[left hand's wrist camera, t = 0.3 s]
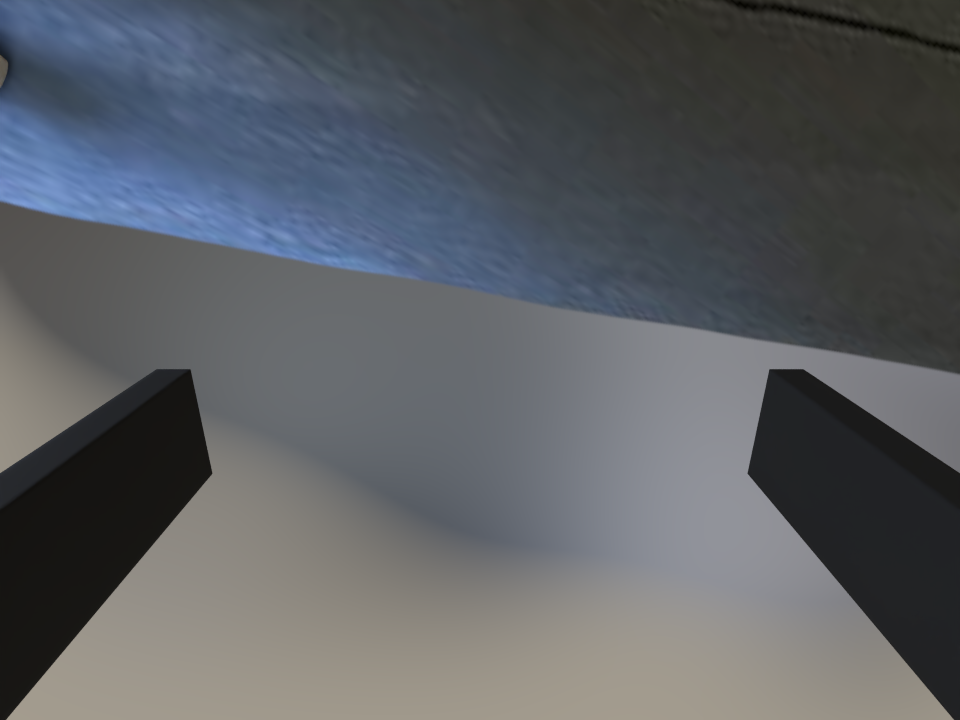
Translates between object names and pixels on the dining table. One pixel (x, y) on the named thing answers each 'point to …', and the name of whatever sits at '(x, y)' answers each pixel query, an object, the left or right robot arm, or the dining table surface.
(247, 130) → the dining table surface
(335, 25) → the dining table surface
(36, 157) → the dining table surface
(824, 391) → the left robot arm
